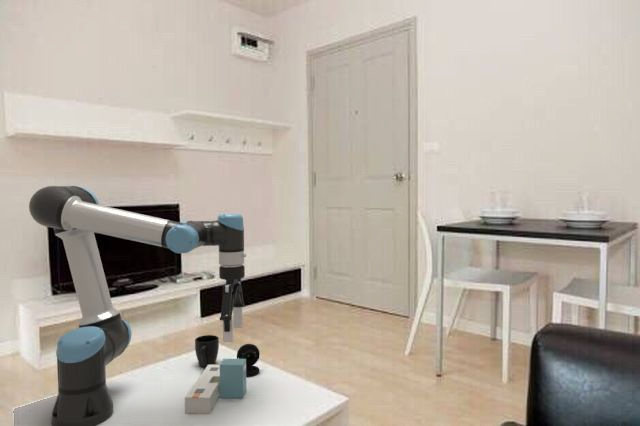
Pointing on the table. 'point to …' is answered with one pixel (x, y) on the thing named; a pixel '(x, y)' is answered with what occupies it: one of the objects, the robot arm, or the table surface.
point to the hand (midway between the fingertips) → (233, 334)
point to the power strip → (204, 391)
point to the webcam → (249, 358)
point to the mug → (206, 350)
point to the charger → (232, 378)
